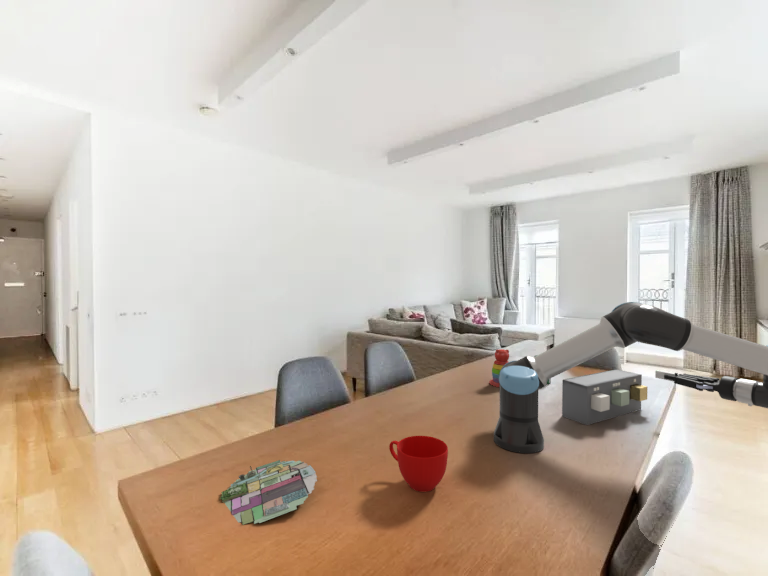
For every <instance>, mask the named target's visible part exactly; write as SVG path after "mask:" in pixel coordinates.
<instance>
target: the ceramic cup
mask: <svg viewBox="0 0 768 576" xmlns="http://www.w3.org/2000/svg"><path fill="white" fill-rule="evenodd" d="M394 445H396V452H395V449H394ZM388 446H389V447H388V449H389V453H390V454H391V456H392V457H393V459H394V460H395V461H396V462H397V465H398V468H399V472H400V473H401V476H402V478H403V479H404V481H405V482H406V483H407V485H408V486H409V487H410V488H411V490H413V491H416V492H420V493H421V492H422V493H425V492H427V493H428V492H430V491H433V490H434V489H435V488H436V487H437V486H438V485H439V483H441V481H442V480H443V477H444V476H445V473H446V470H447V465H448V455H449V448H448V445H447V444H446V443H445V442H444V441H443V440H441V439H439V438H437V437H433V436H427V435H412V436H407V437H404V438H402V439H400V440H399V441H398V440H392V441H391V442H390V443H389V445H388Z"/></svg>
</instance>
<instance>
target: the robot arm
mask: <svg viewBox="0 0 768 576" xmlns="http://www.w3.org/2000/svg"><path fill="white" fill-rule="evenodd" d="M635 343H639V344H640V343H641V344H645V345H650V346H651V345H652V346H655V347H661V348H664V349H669V350H673V351H675V352H679V351H683V350H684V351H687V352H690V353H694V354H697V355H700V356H704V357H706V358H710V359H713V360H715V361H716V360H717V361H719V362H723V363H726V364H728V365H731V366H732V365H733V366H735V367H738V368H742V369H745V370H749V371H752V372H755V373H759V374H762V375H763V376H762V381H759V380H754V379H753V380H751V379H747V378H738V377H736V376H735V377H734V376H728V375H724V376H722V377H721V378H719V377H710V376H703V375H695V374H689V373H683V374H682V373H678V372H670V371H665V370H661V369H659V370H658V369H657V370H655V371H654V373H655V375H654V377H655V379H660V380H663V381H670V382H673V383H674V384H676V385H679V386H683V387H687V388H690V389H695V390H698V391H699V392H703V391H706V392H711V393H714V392H717V393H718V395H719V397H720V398H721V399H722V400H726V401H727V400H728V401H732V402H738V403H742V404H747V406H749V407H752V406H755V407H761V408H764V409H768V344H767V345H764V344H760V343H757V342H753V341H749V340H748V339H744V338H740V337H737V336H734V335H730V334H726V333H724V332H720V331H716V330H713V329H709V328H706V327H704V326H699V325H697V324H693V323H692V321H691V319H688V318H686V317H685V318H684V317H681V316H678V315H676V314H674V313H671V312H668V311H665V310H663V309H661V308H659V307H656V306H653V305H649V304H645V303H644V304H643V303H641V302H636V301H628V302H623V303H620V304H618V305H617V306H615V307H614V308H613V309H612V310H611V312H609V313H607V314H605V315H603V316H601V317H600V321H599V323H597V324H596V325H594V326H592V327H590V328H589V329H586V330H585V331H583V332H580V333H579V334H576V335H575V336H572V337H570V338H569V339H567V340H565V341H562V342H561V343H559V344H557V345H556V346H553V347H552V348H549V349H547V350H544V351H543V352H541V353H540V354H537V356H536V355H534V356H535V357H534V356H530V355H526V356H524V357H522V358H519V359H518V360H511V361H508V363H506V364H505V365H504V366H503V367H502V369H501V371H500V373H499V385H500V388H499V417H498V420H497V422H496V425H495V428H494V431H493V442H494V443H495V444H496V446H498V447H500V448H502V449H504V450H507V451H510V452H513V453H520V454H534V453H538V452H541V451H543V450H544V448H545V438H544V435H543V431H542V429H541V426H540V423H539V390H541V389H543V388H545V387H546V386H547V385H548V384H547V381H548V379H550V378H551V379H552V378H554V377H556V376H558V375H560V374H562V373H565V372H568V370H571V369H572V368H575V367H577V366H578V365H581V364H582V363H583V364H584V363H585V362H587V361H589V360H591V359H594V358H595V357H597V356H599V355H601V354H603V353H605V352H607V351H609V350H611V349H613V348H616V347H618V348H620V349H625V348H627V347H629V346H631V345H633V344H635Z"/></svg>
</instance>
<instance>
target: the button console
mask: <svg viewBox="0 0 768 576" xmlns="http://www.w3.org/2000/svg"><path fill="white" fill-rule="evenodd" d="M634 384H639V385H642V374H640V373H635V372H631V371H626V370H621V369H617V368H615V369H611V370H606V371H600V372H596V373H590V374H584V375H580V376H575V377H569V378H565V379H562V383H561V385H562V391H561V392H562V395H561V396H562V397H561V398H562V399H561V401H562V402H561V405H562V406H561V417H563V418H567V419H569V420H571V421H574V422H577V423H580V424H582V425H586V426H588V425H591V424H596V423H599V422H602V421H606V420H609V419H613V418H616V417H620V416H624V415H628V414H631V413H634V412H637V410H638V411H641V410H642V401H637V400H633V399H630V385H634ZM616 388H620V389H624V390H628V391H629V404H628V405H624V406H618V405H615V404H611V390H612V389H616ZM595 393H602V394H605V395H609V396H610V410H606V411H602V412H600V411H597V410H594V409H591V394H595ZM630 412H631V413H630Z"/></svg>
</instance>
